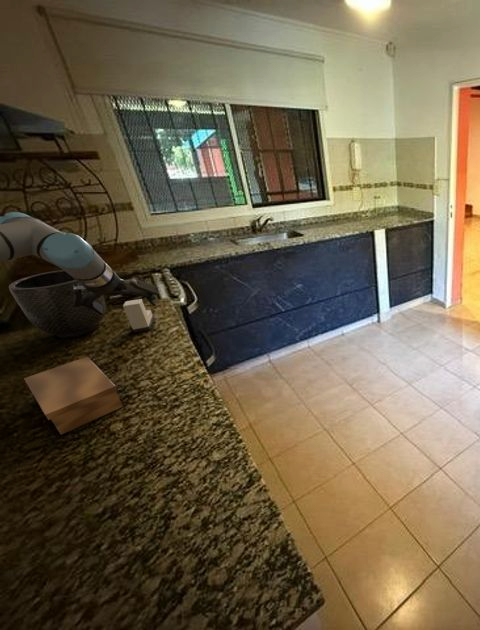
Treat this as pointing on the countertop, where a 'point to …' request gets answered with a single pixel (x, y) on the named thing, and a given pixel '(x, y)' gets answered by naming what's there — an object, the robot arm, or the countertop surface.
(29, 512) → the countertop surface
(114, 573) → the countertop surface
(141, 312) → the black-striped white block
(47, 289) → the planter
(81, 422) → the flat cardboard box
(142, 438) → the countertop surface
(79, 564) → the countertop surface
